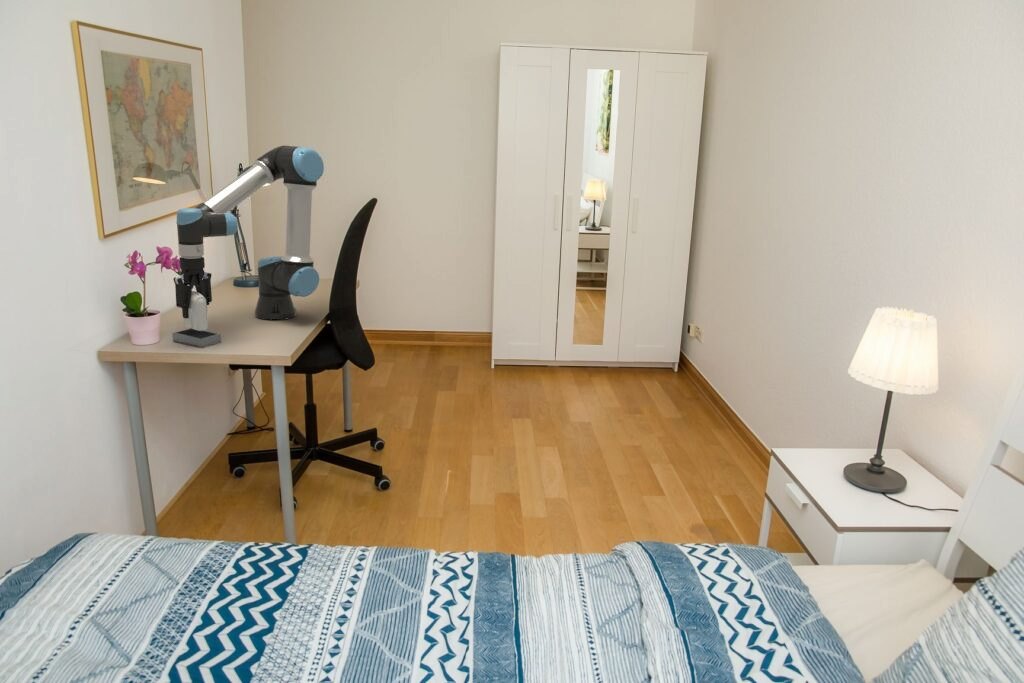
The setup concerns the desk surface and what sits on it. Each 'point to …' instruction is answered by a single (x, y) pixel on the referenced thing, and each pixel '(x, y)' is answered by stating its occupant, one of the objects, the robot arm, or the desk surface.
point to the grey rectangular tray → (196, 338)
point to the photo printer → (198, 311)
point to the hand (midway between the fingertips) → (195, 325)
